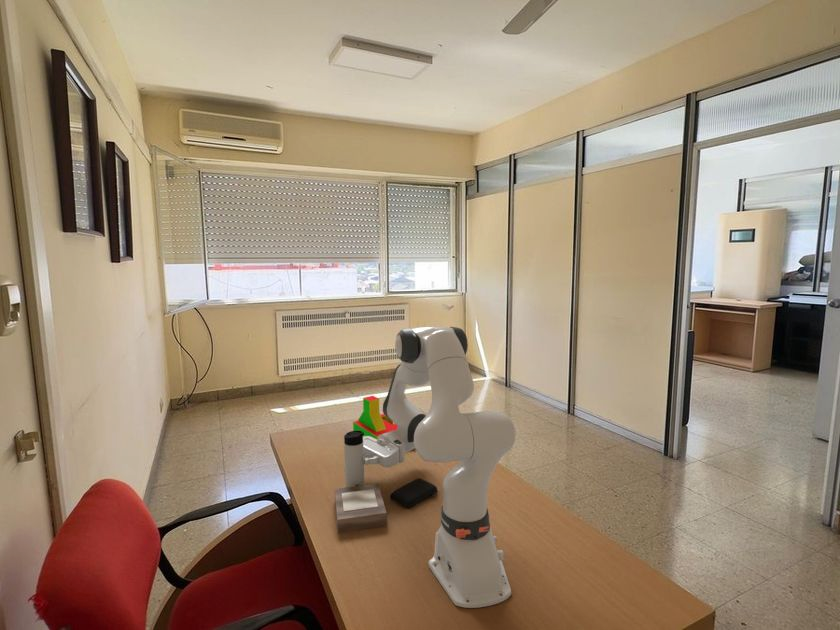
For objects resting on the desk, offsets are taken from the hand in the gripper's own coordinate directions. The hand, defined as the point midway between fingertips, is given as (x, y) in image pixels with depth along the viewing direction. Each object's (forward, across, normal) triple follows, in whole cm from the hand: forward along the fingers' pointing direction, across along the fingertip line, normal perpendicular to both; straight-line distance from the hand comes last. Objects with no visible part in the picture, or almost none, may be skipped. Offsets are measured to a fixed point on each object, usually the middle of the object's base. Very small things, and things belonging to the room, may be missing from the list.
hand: (355, 457), depth 147 cm
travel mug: (0, 0, +11) cm, 11 cm away
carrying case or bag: (-11, +17, +12) cm, 23 cm away
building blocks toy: (-33, -24, +11) cm, 42 cm away
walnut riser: (+7, +12, +11) cm, 18 cm away
